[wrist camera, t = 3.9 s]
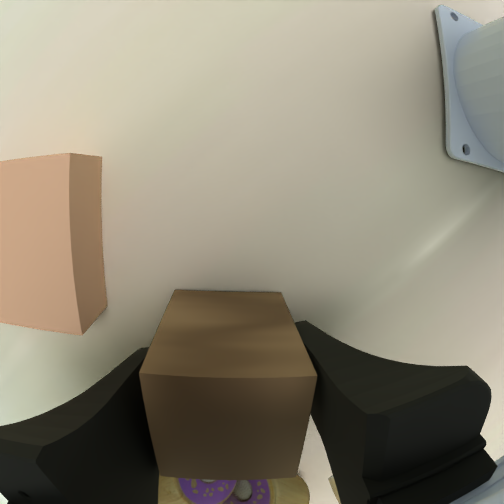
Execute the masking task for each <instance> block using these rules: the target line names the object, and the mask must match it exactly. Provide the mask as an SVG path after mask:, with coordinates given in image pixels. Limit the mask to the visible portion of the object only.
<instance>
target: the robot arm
mask: <svg viewBox="0 0 504 504" xmlns="http://www.w3.org/2000/svg"><path fill="white" fill-rule="evenodd" d="M435 15H436V20H437V26H438V33H439V39H440V47H441V55H442V64H443V75H444V89H445V108H446V150H447V153H448V154H449V156H450V157H451V158H453V159H457V160H461V161H465V162H468V163H472V164H476V165H479V166H483V167H487V168H490V169H493V170H497V171H500V172H503V173H504V17H502V18H499V19H497V20H495V21H492V22H490V23H488V24H486V25H484V26H483V25H481V24H480V23H478V22H476V21H474V20H472V19H470V18H469V17H467V16H465V15H463V14H461V13H459V12H457V11H455V10H453V9H451V8H449V7H446V6H444V5H439V6H438V7H436V8H435ZM463 146H464V148H465V153H463V150H462V147H463ZM295 326H296V328H297V330H298V332H299V335H300V337H301V339H302V342H303V344H304V346H305V348H306V351H307V353H308V355H309V358H310V360H311V362H312V364H313V367H314V369H315V371H316V374H317V381H316V386H315V392H314V397H313V402H312V407H311V412H310V414H311V416H312V418H313V421H314V423H315V425H316V427H317V430H318V432H319V434H320V436H321V439H322V441H323V444H324V447H325V450H326V453H327V456H328V460H329V463H330V466H331V470H332V473H333V477H334V480H335V484H336V487H337V491H338V495H339V498H340V502H341V504H504V456H502V457H501V458H499V459H498V460H496V461H495V462H494V461H493V460H492V458H491V457H490V456H489V455H488V453H487V452H486V451H485V450H484V449H483V448H485V446H486V441H485V439H484V438H483V437H482V436H481V435H480V432H481V430H482V427H483V424H484V422H485V419H486V416H487V414H488V411H489V407H490V403H491V389H490V387H489V386H488V384H487V383H486V382H485V381H484V380H483V379H482V378H480V377H479V376H478V375H477V374H476V373H475V372H474V371H473V370H472V369H470V368H469V367H468V366H425V365H415V364H408V363H402V362H397V361H392V360H388V359H384V358H380V357H377V356H374V355H371V354H368V353H365V352H363V351H360V350H358V349H355V348H353V347H351V346H349V345H347V344H344V343H342V342H341V341H339V340H337V339H335V338H333V337H331V336H330V335H328V334H326V333H325V332H323V331H321V330H320V329H318V328H317V327H315V326H314V325H312V324H311V323H309V322H307V321H306V320H305V321H301V322H296V323H295ZM149 348H150V347H147V348H141V349H139V350H137V351H136V352H135V353H133V354H132V355H131V356H129V357H128V358H127V359H126V360H125V361H123V362H122V363H121V364H120V365H119V366H117V367H116V368H115V369H114V370H112V371H111V372H110V373H109V374H108V375H106V376H105V377H104V378H102V379H101V380H100V381H98V382H97V383H96V384H94V385H93V386H92V387H90V388H89V389H87V390H86V391H85V392H83V393H81V394H80V395H78V396H77V397H75V398H73V399H72V400H70V401H68V402H66V403H64V404H62V405H60V406H58V407H56V408H54V409H52V410H50V411H48V412H46V413H43V414H41V415H38V416H35V417H33V418H30V419H27V420H24V421H20V422H17V423H13V424H9V425H4V426H0V493H1V494H2V495H3V496H4V497H5V498H6V499H7V500H8V503H7V504H158V488H159V468H158V464H157V460H156V456H155V452H154V448H153V444H152V439H151V435H150V430H149V425H148V420H147V415H146V410H145V405H144V400H143V394H142V388H141V382H140V376H139V372H140V369H141V367H142V364H143V362H144V360H145V357H146V355H147V352H148V350H149Z"/></svg>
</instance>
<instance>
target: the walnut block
mask: <svg viewBox="0 0 504 504" xmlns="http://www.w3.org/2000/svg"><path fill="white" fill-rule="evenodd" d="M139 376H140V382H141V388H142V394H143V400H144V405H145V410H146V415H147V420H148V425H149V430H150V435H151V439H152V444H153V448H154V452H155V456H156V460H157V464H158V468H159V472H160V476H164V477H175V478H187V479H205V480H263V479H280V478H293V477H296V475H297V471H298V467H299V462H300V458H301V454H302V450H303V445H304V441H305V436H306V432H307V427H308V422H309V417H310V412H311V407H312V402H313V397H314V392H315V386H316V381H317V374H316V371H315V369H314V367H313V364H312V362H311V360H310V358H309V355H308V353H307V351H306V348H305V346H304V344H303V342H302V339H301V337H300V335H299V332H298V330H297V328H296V326H295V323H294V321H293V319H292V317H291V314H290V312H289V310H288V307H287V305H286V303H285V301H284V298H283V296H282V294H281V292H221V291H188V290H175V291H174V293H173V295H172V297H171V300H170V302H169V304H168V306H167V309H166V311H165V313H164V315H163V318H162V320H161V322H160V324H159V327H158V329H157V331H156V334H155V336H154V338H153V341H152V343H151V345H150V348H149V350H148V352H147V355H146V357H145V360H144V362H143V364H142V367H141V369H140V372H139Z"/></svg>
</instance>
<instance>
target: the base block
mask: <svg viewBox="0 0 504 504" xmlns="http://www.w3.org/2000/svg"><path fill="white" fill-rule="evenodd" d="M101 172H102V157H99V156H91V155H82V154H74V153H66V154H55V155H46V156H37V157H29V158H21V159H14V160H7V161H1V162H0V322H1V323H6V324H11V325H17V326H22V327H28V328H34V329H40V330H46V331H53V332H60V333H67V334H74V335H83V334H84V333H85V332H86V331H87V329H88V328H89V327H90V326H91V325H92V323H93V322H94V321H95V320H96V319H97V317H98V316H99V315H100V314H101V313H102V312H103V310H104V309H105V308H106V307H107V298H106V288H105V276H104V263H103V247H102V221H101Z"/></svg>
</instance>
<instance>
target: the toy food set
mask: <svg viewBox="0 0 504 504" xmlns="http://www.w3.org/2000/svg"><path fill="white" fill-rule="evenodd" d="M329 482H330V485H331V487H332V489H333V492H334V494H335V496H336V498H337V500H338V502H339V504H341V502H340V498H339V495H338V491H337V487H336V484H335V480H334V477H333V476H331V477H330V478H329ZM309 500H310V494H309V489H308V486H307V484H306V483H305V482H304V480H303V479H302V478H300V477H299V476H298V475H296V477H293V478H280V479H263V480H205V479H187V478H175V477H164V476H160V472H159V488H158V504H309Z"/></svg>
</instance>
